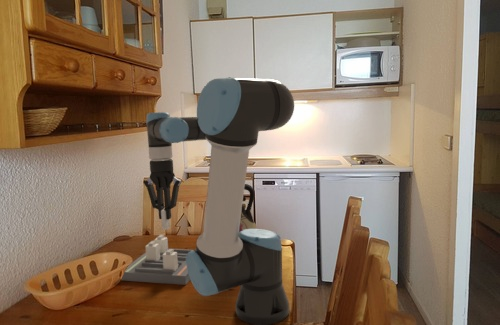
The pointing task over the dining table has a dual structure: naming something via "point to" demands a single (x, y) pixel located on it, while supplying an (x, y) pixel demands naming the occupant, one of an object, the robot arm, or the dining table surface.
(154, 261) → the tray
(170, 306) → the dining table surface
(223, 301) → the dining table surface
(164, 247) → the far breaker handle
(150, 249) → the handle
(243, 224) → the ceramic jug
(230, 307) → the dining table surface
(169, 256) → the block
